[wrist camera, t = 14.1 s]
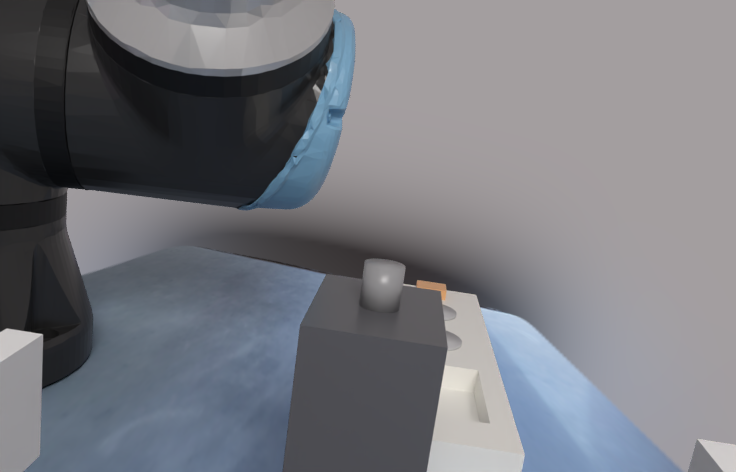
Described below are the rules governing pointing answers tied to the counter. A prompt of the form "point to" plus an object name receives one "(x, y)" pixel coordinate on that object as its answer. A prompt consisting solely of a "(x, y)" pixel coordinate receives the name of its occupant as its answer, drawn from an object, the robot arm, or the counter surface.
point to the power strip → (471, 396)
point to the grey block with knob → (367, 375)
